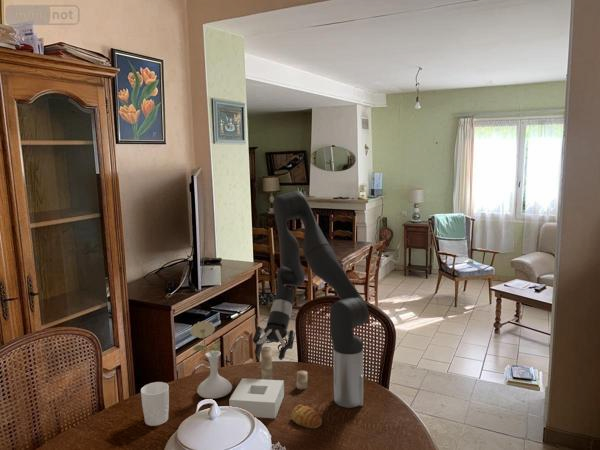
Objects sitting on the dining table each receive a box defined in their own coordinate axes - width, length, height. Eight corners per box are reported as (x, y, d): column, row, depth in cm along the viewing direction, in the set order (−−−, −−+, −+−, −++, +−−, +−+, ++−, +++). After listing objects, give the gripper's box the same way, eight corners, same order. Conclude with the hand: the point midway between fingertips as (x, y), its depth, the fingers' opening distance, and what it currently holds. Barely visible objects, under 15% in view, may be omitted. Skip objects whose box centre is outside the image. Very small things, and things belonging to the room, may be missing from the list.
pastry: (327, 423, 132) (327, 410, 132) (312, 433, 127) (312, 421, 127) (303, 412, 138) (303, 400, 138) (288, 421, 133) (287, 409, 133)
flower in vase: (235, 385, 156) (232, 314, 152) (228, 402, 144) (225, 326, 141) (197, 385, 156) (193, 315, 153) (188, 402, 145) (184, 327, 142)
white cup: (145, 430, 130) (142, 397, 129) (140, 417, 137) (138, 385, 136) (173, 422, 133) (171, 390, 132) (167, 410, 140) (165, 379, 139)
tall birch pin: (273, 382, 157) (272, 347, 155) (271, 387, 153) (270, 351, 152) (263, 382, 157) (262, 346, 156) (260, 387, 154) (259, 350, 152)
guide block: (284, 395, 148) (283, 380, 148) (275, 418, 135) (274, 402, 134) (242, 392, 151) (242, 378, 150) (229, 415, 137) (229, 399, 136)
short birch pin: (307, 384, 155) (307, 370, 154) (306, 389, 152) (307, 375, 151) (297, 384, 155) (297, 370, 155) (296, 389, 152) (296, 375, 151)
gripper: (259, 308, 165) (246, 350, 155) (296, 311, 160) (285, 355, 151) (265, 317, 170) (253, 359, 161) (301, 321, 166) (290, 364, 156)
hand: (268, 357), depth 156 cm, fingers open, 8 cm apart
